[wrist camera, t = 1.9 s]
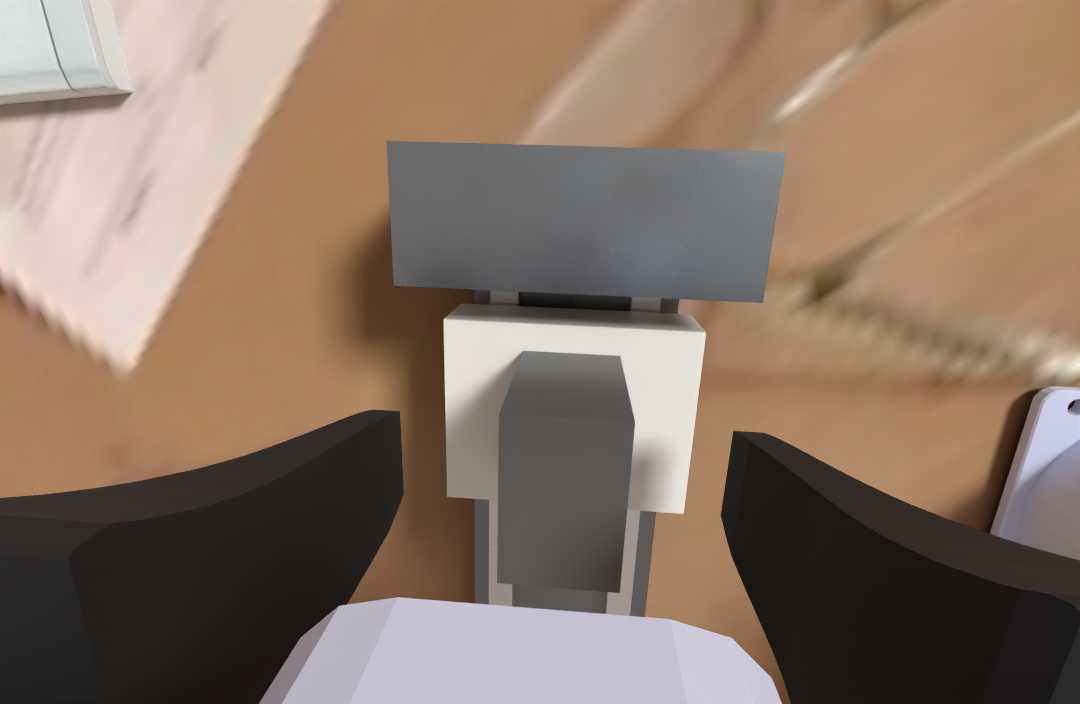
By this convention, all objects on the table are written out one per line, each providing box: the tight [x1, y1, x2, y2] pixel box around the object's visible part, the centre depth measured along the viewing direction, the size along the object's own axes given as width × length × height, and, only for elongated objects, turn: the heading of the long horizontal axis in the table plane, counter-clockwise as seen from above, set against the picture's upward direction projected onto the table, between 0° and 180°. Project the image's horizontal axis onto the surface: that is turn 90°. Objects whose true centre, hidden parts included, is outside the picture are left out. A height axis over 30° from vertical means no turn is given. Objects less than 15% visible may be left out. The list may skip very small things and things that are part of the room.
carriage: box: [444, 303, 706, 593], centre depth 13 cm, size 6×5×6 cm
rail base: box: [387, 141, 786, 617], centre depth 17 cm, size 8×30×6 cm, turn 178°
